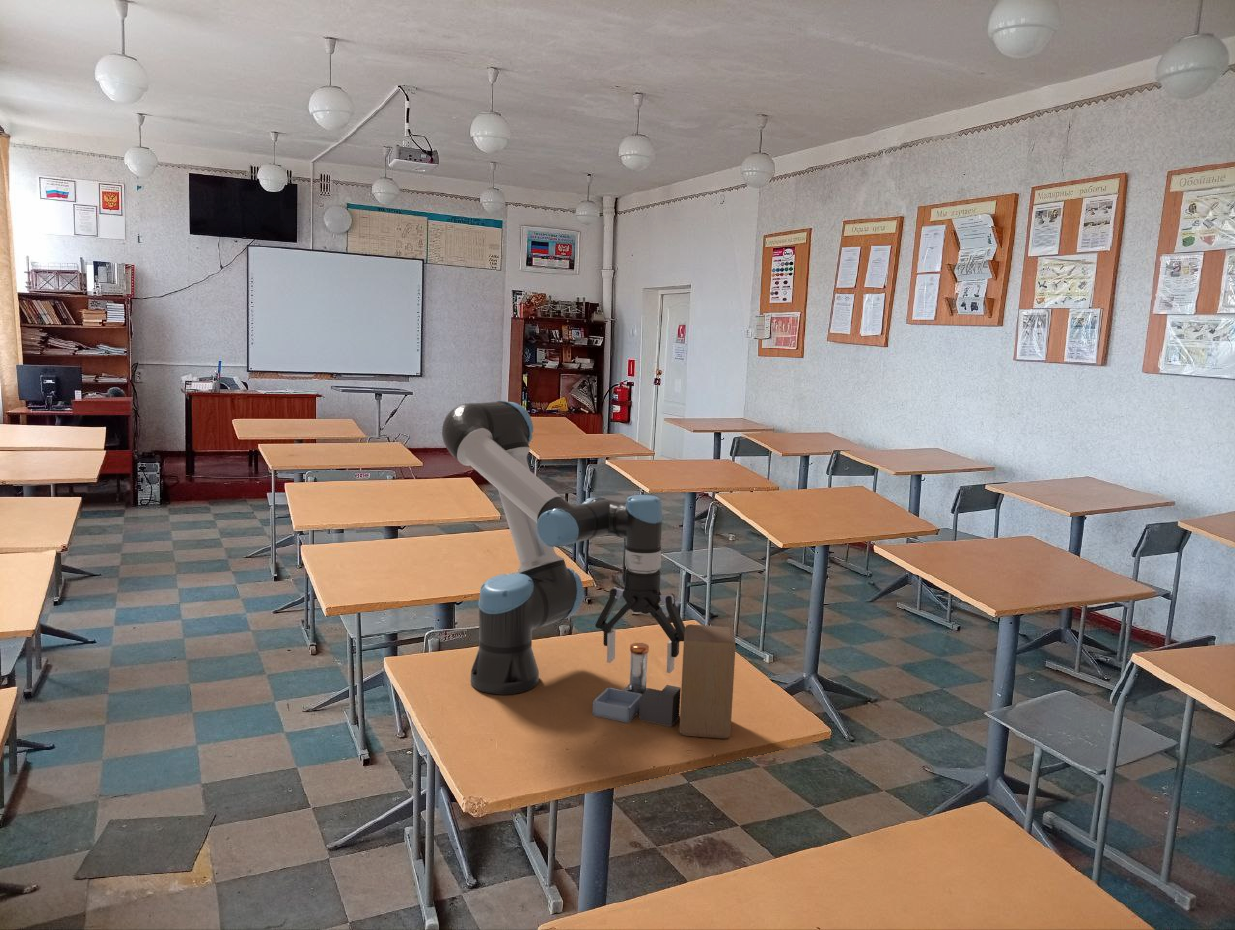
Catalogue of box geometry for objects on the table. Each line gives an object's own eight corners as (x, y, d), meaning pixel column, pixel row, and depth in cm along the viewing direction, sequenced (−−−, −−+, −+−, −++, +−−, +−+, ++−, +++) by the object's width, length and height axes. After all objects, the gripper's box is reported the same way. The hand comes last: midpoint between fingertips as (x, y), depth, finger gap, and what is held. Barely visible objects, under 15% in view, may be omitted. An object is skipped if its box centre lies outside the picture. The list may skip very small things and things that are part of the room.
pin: (625, 701, 186) (627, 647, 184) (632, 694, 190) (634, 641, 188) (642, 704, 184) (645, 650, 183) (649, 697, 188) (651, 644, 186)
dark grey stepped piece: (639, 720, 177) (640, 690, 176) (647, 710, 182) (648, 681, 181) (671, 727, 175) (673, 696, 174) (679, 717, 179) (680, 687, 178)
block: (728, 718, 179) (734, 625, 176) (730, 741, 169) (736, 643, 166) (680, 714, 180) (685, 622, 177) (679, 736, 170) (683, 639, 167)
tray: (592, 715, 178) (592, 701, 178) (607, 700, 186) (607, 687, 185) (628, 722, 176) (629, 708, 175) (642, 707, 183) (643, 694, 182)
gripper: (581, 566, 184) (579, 662, 187) (694, 580, 174) (690, 681, 177) (595, 558, 191) (593, 650, 194) (705, 571, 181) (701, 668, 184)
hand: (640, 665), depth 186 cm, fingers open, 13 cm apart
